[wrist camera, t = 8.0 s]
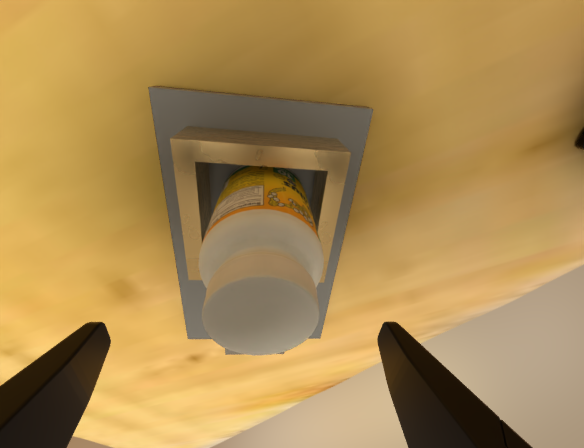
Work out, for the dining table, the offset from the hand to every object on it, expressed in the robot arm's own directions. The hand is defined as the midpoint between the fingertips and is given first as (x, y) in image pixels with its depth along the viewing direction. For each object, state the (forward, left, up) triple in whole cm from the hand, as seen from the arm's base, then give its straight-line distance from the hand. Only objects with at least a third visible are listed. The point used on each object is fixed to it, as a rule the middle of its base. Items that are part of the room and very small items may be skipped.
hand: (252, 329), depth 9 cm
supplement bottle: (0, 0, -10) cm, 10 cm away
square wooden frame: (0, 0, -11) cm, 11 cm away
